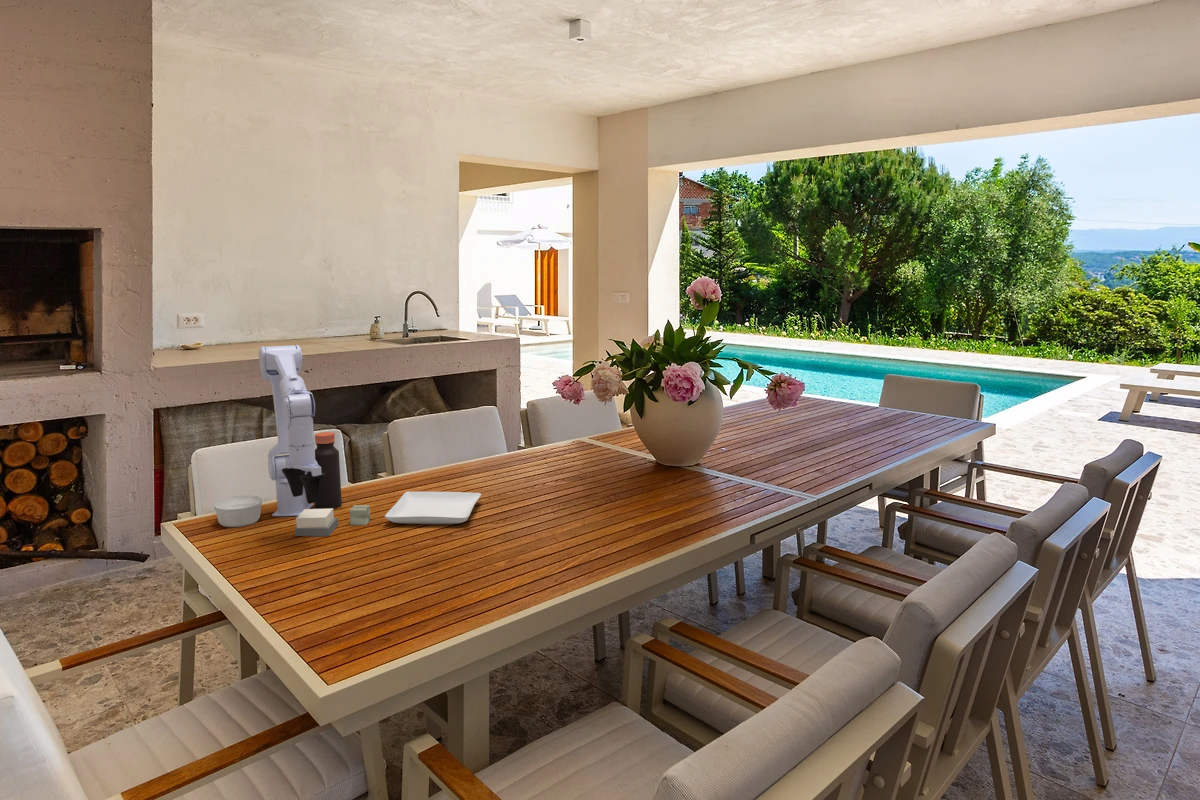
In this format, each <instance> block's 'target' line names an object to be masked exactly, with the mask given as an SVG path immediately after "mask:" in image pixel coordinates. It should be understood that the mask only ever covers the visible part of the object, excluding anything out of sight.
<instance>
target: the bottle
mask: <svg viewBox="0 0 1200 800" xmlns="http://www.w3.org/2000/svg"><path fill="white" fill-rule="evenodd" d="M314 444H315V445H316V448H315V460H316V462H317V463H318V465H319V466H320V467H321V473H325V478H324V480H323V482H322V484H321V487H320V491H319V496H318V501H317V502H315V503H314V506H315V508H316V509H330V508H333V509H337V508H339V507H341V506H342V503H343V500H342V499H343V497H342V484H341V483H342V482H341V468H340V467H341V465H340V452H339V450H338V448H336V447H335V446H334V444H335V433H334V432H329V431H326V432H325V431H324V432H318V433H314Z"/></svg>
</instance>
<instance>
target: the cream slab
mask: <svg viewBox="0 0 1200 800" xmlns="http://www.w3.org/2000/svg"><path fill="white" fill-rule="evenodd" d="M334 514H335V513H334V508H330V509H318V508H311V509H304V510H303V512H302V513H301V514H300V515H299V516H296V518H295V519H296V527H297V528H319V527H327V526H328V525H329V524H330V522H331V521H332V520H333V519H334V518H335V516H334Z"/></svg>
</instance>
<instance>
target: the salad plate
mask: <svg viewBox="0 0 1200 800" xmlns="http://www.w3.org/2000/svg"><path fill="white" fill-rule="evenodd" d="M481 496H482V493H480V492H467V491H466V492H462V491H405V492H404V493H403V495H402V496H400V498H399V499H398V500H397V501H396V503H395V504H394V505H393V506H392V507H391V508H390V509H389V510H388V511H387V513H386V514H385V515H384V518H385V519H386V520H388V521H389V522H392V523H396V524H407V525H408V524H409V525H455V524H456V525H458V524H462V523H464V522H466V521H467V520H468V519H469V517H470V515H471V513H472V510H473V509H474V507H475V505H476V504H477V502H478V501H479V500H480V498H481Z"/></svg>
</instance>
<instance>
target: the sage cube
mask: <svg viewBox="0 0 1200 800" xmlns="http://www.w3.org/2000/svg"><path fill="white" fill-rule="evenodd" d="M370 508H371V506H370V504H369V505H368V504H363V505H362V504H359V505H358V504H357V505H355V504H354V505H353V506H352V507H351V508H350V509H349V521H350V523H349V524H350V526H367V525H368V523H369V522H371V509H370Z"/></svg>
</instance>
